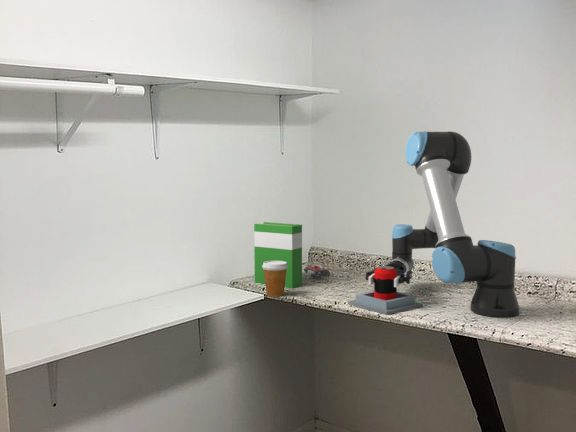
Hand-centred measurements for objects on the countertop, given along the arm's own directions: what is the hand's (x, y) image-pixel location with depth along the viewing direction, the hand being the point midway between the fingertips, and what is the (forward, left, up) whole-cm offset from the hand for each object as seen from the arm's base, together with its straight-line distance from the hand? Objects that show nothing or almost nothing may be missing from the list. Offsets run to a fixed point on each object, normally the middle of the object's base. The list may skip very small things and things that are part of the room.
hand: (382, 282), depth 203 cm
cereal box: (+52, +4, -9) cm, 53 cm away
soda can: (+2, -4, -8) cm, 10 cm away
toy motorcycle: (+55, -20, -10) cm, 60 cm away
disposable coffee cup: (+38, +16, -9) cm, 43 cm away
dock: (+2, -4, -9) cm, 10 cm away
